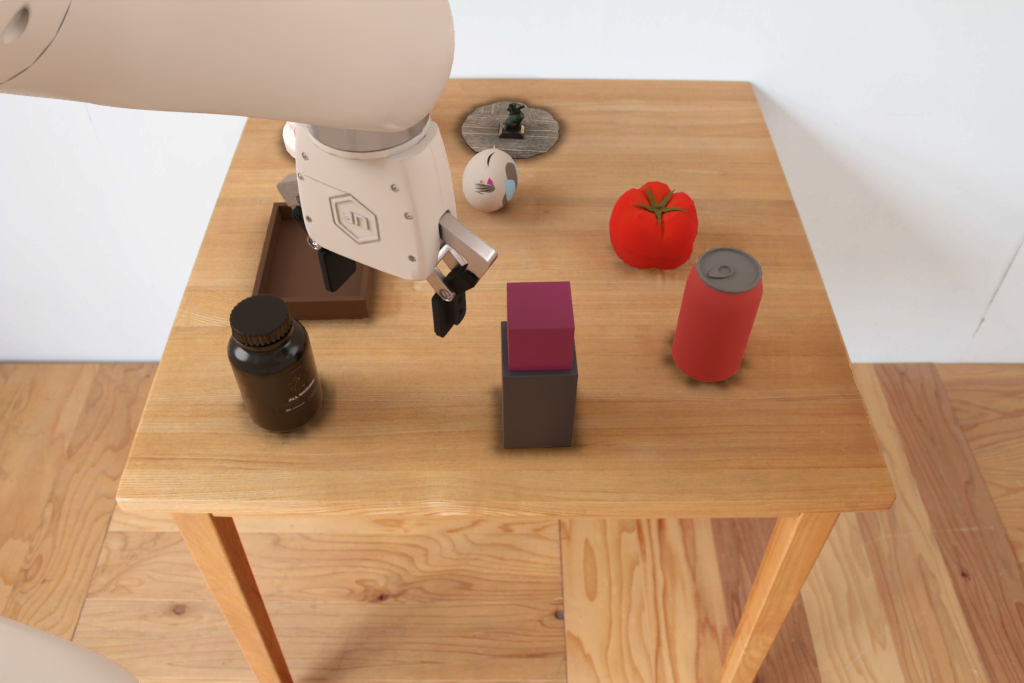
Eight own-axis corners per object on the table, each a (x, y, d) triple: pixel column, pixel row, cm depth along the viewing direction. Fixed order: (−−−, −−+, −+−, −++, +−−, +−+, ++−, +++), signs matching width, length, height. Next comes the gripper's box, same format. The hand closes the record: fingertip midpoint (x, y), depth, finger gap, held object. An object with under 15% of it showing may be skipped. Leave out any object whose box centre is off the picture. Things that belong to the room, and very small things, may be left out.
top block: (571, 370, 68) (575, 327, 64) (508, 371, 67) (508, 329, 64) (566, 323, 71) (570, 280, 67) (506, 325, 71) (506, 282, 67)
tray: (368, 318, 85) (365, 300, 83) (255, 320, 85) (249, 302, 83) (379, 218, 95) (376, 200, 93) (278, 220, 95) (273, 202, 93)
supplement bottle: (318, 436, 76) (291, 347, 66) (241, 434, 76) (204, 346, 67) (330, 375, 80) (307, 285, 71) (258, 374, 80) (226, 283, 71)
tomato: (592, 243, 92) (597, 188, 87) (659, 217, 95) (668, 162, 89) (642, 297, 87) (651, 242, 81) (711, 267, 90) (725, 212, 84)
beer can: (657, 345, 83) (675, 253, 74) (716, 325, 84) (740, 233, 75) (693, 394, 79) (717, 304, 70) (753, 372, 80) (784, 282, 71)
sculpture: (576, 144, 104) (542, 115, 98) (525, 197, 107) (488, 172, 101) (530, 90, 111) (495, 60, 105) (483, 142, 114) (445, 115, 107)
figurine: (508, 233, 93) (508, 184, 88) (455, 225, 94) (452, 176, 89) (524, 188, 98) (525, 139, 93) (474, 181, 99) (472, 132, 94)
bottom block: (571, 446, 75) (578, 374, 67) (503, 448, 75) (502, 376, 67) (566, 392, 79) (572, 319, 71) (501, 394, 79) (500, 320, 71)
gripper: (213, 96, 52) (271, 294, 65) (458, 179, 47) (469, 378, 59) (290, 40, 56) (330, 236, 69) (521, 110, 51) (519, 309, 64)
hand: (394, 301), depth 64 cm, fingers open, 9 cm apart
